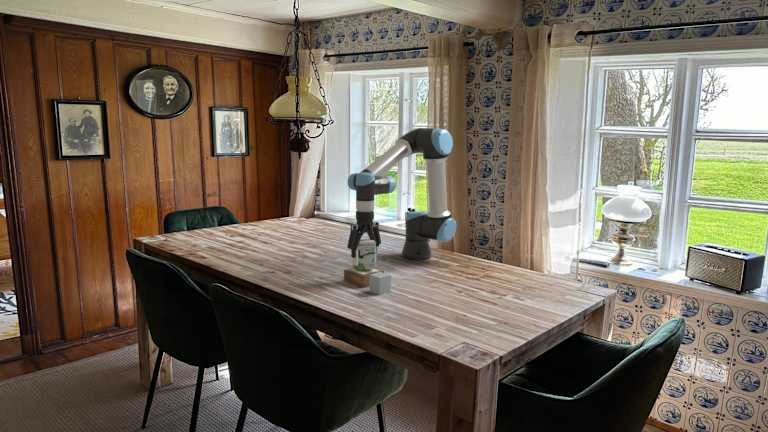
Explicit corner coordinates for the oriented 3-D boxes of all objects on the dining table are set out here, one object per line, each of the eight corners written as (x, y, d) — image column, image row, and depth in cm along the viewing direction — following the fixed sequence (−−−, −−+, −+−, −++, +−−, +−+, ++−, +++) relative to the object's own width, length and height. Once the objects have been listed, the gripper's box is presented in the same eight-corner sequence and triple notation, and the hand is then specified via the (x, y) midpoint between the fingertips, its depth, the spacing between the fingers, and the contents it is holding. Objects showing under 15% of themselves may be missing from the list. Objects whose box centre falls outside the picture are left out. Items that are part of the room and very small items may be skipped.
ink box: (355, 270, 220) (355, 242, 218) (352, 267, 225) (353, 239, 223) (375, 269, 223) (376, 241, 221) (372, 266, 227) (373, 238, 225)
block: (380, 288, 216) (380, 271, 215) (390, 292, 212) (390, 275, 211) (369, 291, 212) (369, 274, 211) (379, 295, 208) (379, 277, 207)
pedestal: (365, 276, 233) (365, 264, 232) (384, 282, 225) (384, 270, 224) (343, 281, 225) (344, 269, 224) (362, 288, 217) (362, 275, 216)
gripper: (378, 206, 230) (377, 257, 234) (338, 211, 215) (338, 265, 219) (390, 208, 225) (389, 260, 229) (350, 214, 210) (350, 269, 213)
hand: (364, 263), depth 224 cm, fingers closed on ink box, 9 cm apart
